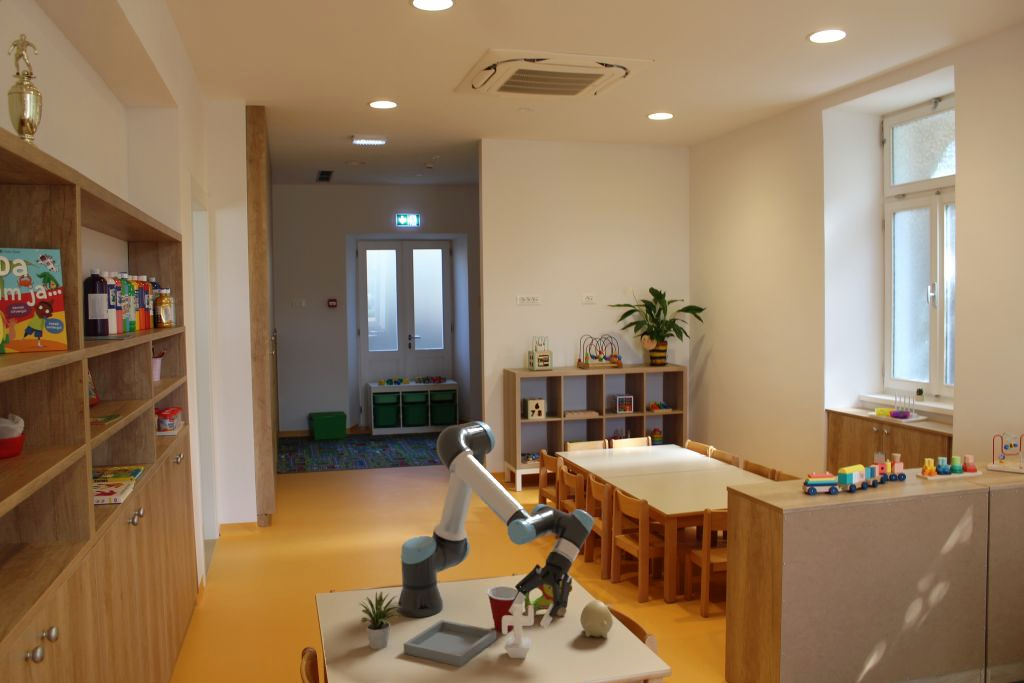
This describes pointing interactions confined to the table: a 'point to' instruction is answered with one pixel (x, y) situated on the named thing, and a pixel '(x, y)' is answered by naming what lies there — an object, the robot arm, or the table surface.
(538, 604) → the toy lion
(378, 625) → the house plant
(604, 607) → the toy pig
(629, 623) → the table surface
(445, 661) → the tray
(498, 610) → the plastic cup
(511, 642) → the figurine
